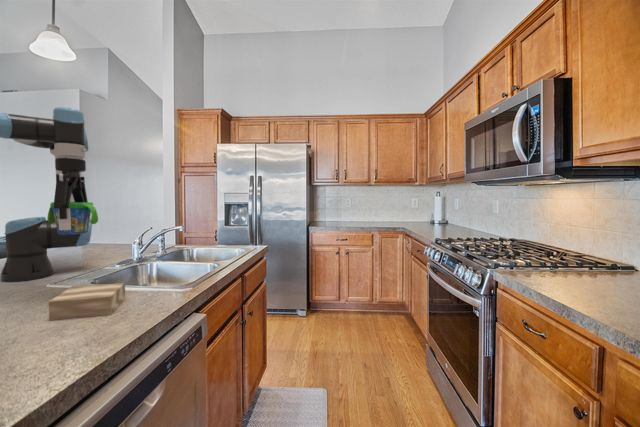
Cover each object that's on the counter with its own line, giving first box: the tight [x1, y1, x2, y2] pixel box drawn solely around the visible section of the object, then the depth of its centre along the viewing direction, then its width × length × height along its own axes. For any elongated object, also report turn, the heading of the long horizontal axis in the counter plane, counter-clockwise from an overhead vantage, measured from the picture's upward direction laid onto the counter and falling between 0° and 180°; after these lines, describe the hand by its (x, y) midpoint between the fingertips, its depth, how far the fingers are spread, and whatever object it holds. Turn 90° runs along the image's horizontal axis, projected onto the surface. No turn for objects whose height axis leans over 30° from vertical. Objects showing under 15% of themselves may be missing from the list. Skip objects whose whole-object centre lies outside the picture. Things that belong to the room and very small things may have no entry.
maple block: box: [48, 282, 126, 321], centre depth 90 cm, size 14×14×5 cm
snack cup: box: [46, 201, 99, 235], centre depth 99 cm, size 16×10×10 cm
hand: (73, 228), depth 99 cm, fingers closed on snack cup, 10 cm apart
